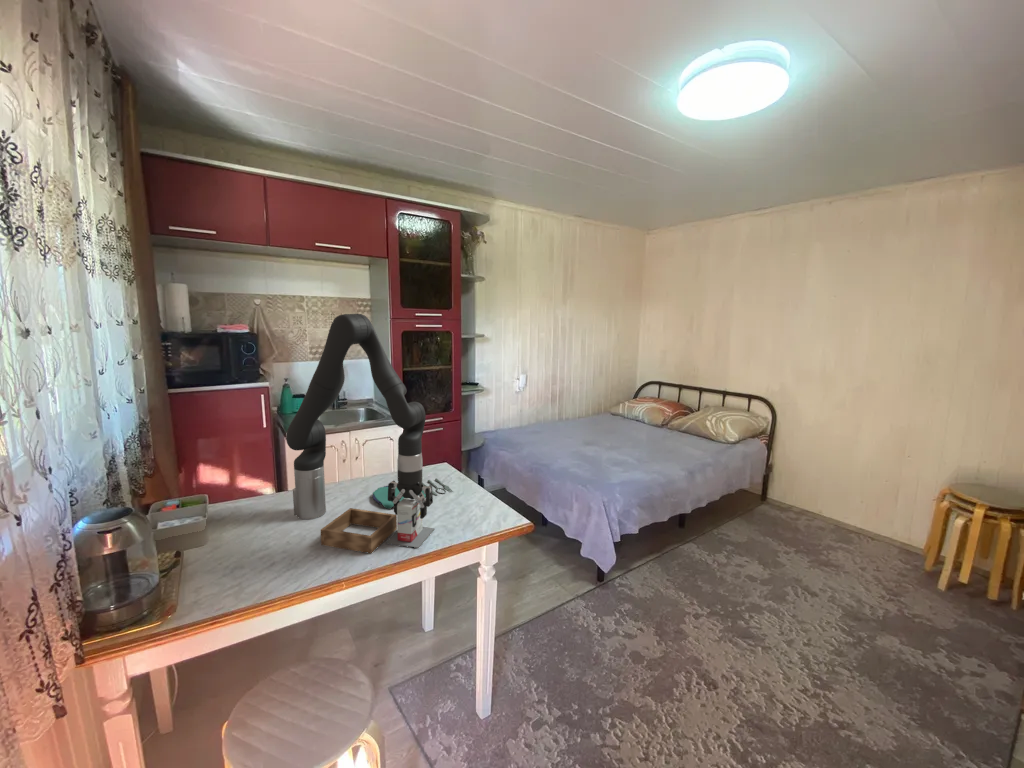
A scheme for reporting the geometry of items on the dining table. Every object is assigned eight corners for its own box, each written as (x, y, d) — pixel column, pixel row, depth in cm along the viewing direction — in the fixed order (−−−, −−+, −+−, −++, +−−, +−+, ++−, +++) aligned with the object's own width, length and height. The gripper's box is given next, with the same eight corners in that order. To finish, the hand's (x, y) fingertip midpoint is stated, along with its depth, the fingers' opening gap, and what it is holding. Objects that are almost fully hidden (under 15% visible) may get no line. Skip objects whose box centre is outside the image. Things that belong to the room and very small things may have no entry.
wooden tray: (321, 545, 127) (320, 529, 126) (350, 521, 141) (350, 508, 141) (371, 553, 123) (371, 537, 122) (396, 529, 138) (396, 514, 137)
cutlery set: (365, 494, 164) (365, 488, 163) (435, 479, 181) (435, 474, 181) (383, 514, 148) (383, 508, 148) (458, 496, 166) (458, 491, 165)
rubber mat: (385, 543, 129) (385, 542, 129) (403, 525, 140) (403, 523, 140) (418, 549, 126) (418, 547, 126) (434, 529, 138) (434, 528, 138)
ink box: (411, 543, 129) (410, 506, 127) (396, 540, 130) (396, 504, 128) (423, 529, 137) (422, 495, 135) (409, 527, 138) (408, 493, 136)
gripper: (382, 468, 128) (383, 517, 130) (426, 473, 124) (426, 524, 127) (395, 460, 135) (395, 507, 137) (436, 465, 132) (436, 513, 134)
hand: (410, 515), depth 132 cm, fingers open, 8 cm apart
